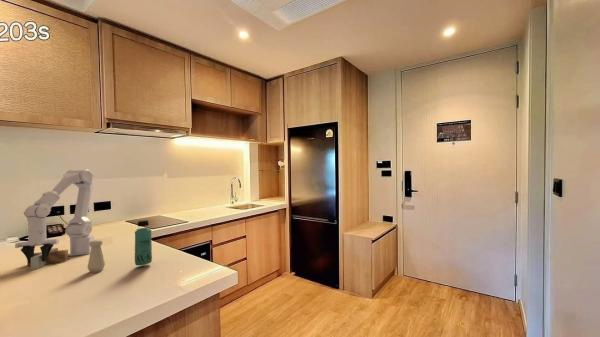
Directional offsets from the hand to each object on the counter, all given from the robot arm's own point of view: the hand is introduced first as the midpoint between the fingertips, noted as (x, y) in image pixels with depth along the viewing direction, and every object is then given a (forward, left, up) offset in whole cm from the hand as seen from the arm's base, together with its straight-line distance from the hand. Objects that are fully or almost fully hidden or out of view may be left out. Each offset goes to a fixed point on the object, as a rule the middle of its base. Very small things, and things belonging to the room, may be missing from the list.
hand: (37, 261), depth 114 cm
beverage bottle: (-46, +18, -3) cm, 50 cm away
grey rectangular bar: (0, -5, -2) cm, 6 cm away
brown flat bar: (-1, -6, -2) cm, 6 cm away
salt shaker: (-28, +16, -3) cm, 33 cm away
